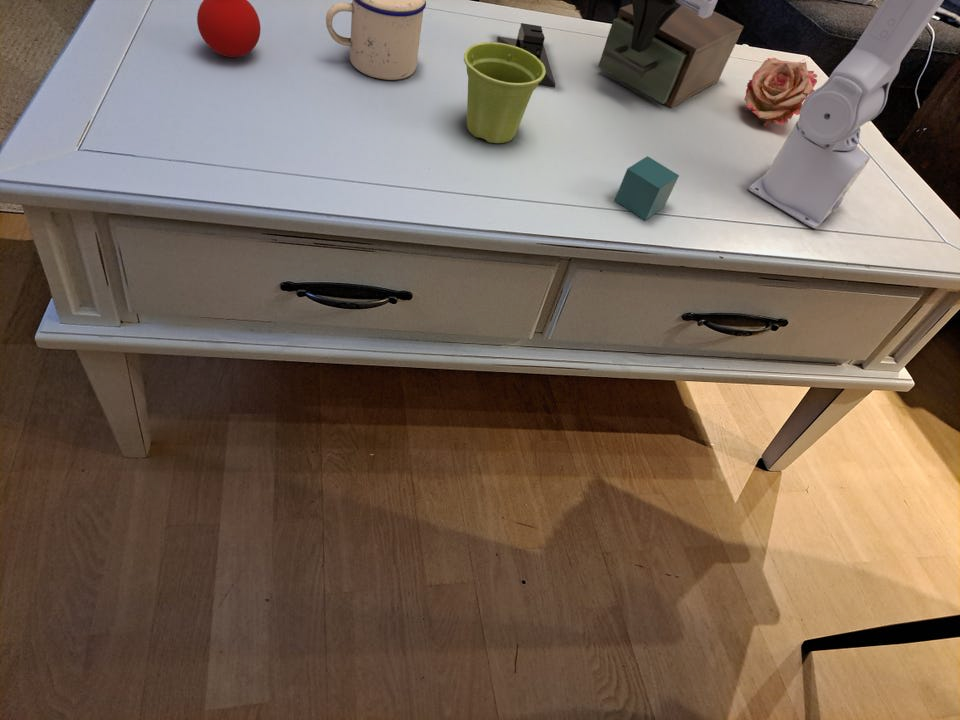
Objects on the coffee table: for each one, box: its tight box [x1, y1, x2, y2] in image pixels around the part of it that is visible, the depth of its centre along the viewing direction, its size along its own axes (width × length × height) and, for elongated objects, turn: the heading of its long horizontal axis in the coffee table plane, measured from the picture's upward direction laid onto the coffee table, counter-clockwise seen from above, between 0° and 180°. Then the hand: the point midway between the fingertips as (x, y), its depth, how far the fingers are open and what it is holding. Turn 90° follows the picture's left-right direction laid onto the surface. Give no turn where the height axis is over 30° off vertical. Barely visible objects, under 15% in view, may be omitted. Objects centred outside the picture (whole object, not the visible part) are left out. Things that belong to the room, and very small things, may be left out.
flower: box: [743, 57, 818, 128], centre depth 98 cm, size 10×9×8 cm
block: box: [613, 155, 680, 221], centre depth 78 cm, size 4×4×4 cm
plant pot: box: [463, 41, 546, 144], centre depth 81 cm, size 9×9×9 cm
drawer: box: [597, 17, 689, 105], centre depth 97 cm, size 18×11×7 cm, turn 138°
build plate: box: [496, 22, 557, 89], centre depth 96 cm, size 12×7×5 cm, turn 5°
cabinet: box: [616, 3, 745, 109], centre depth 100 cm, size 15×13×9 cm
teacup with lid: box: [325, 0, 427, 81], centre depth 85 cm, size 12×9×12 cm
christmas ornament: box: [196, 0, 261, 58], centre depth 81 cm, size 7×7×10 cm
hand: (638, 48), depth 92 cm, fingers closed
